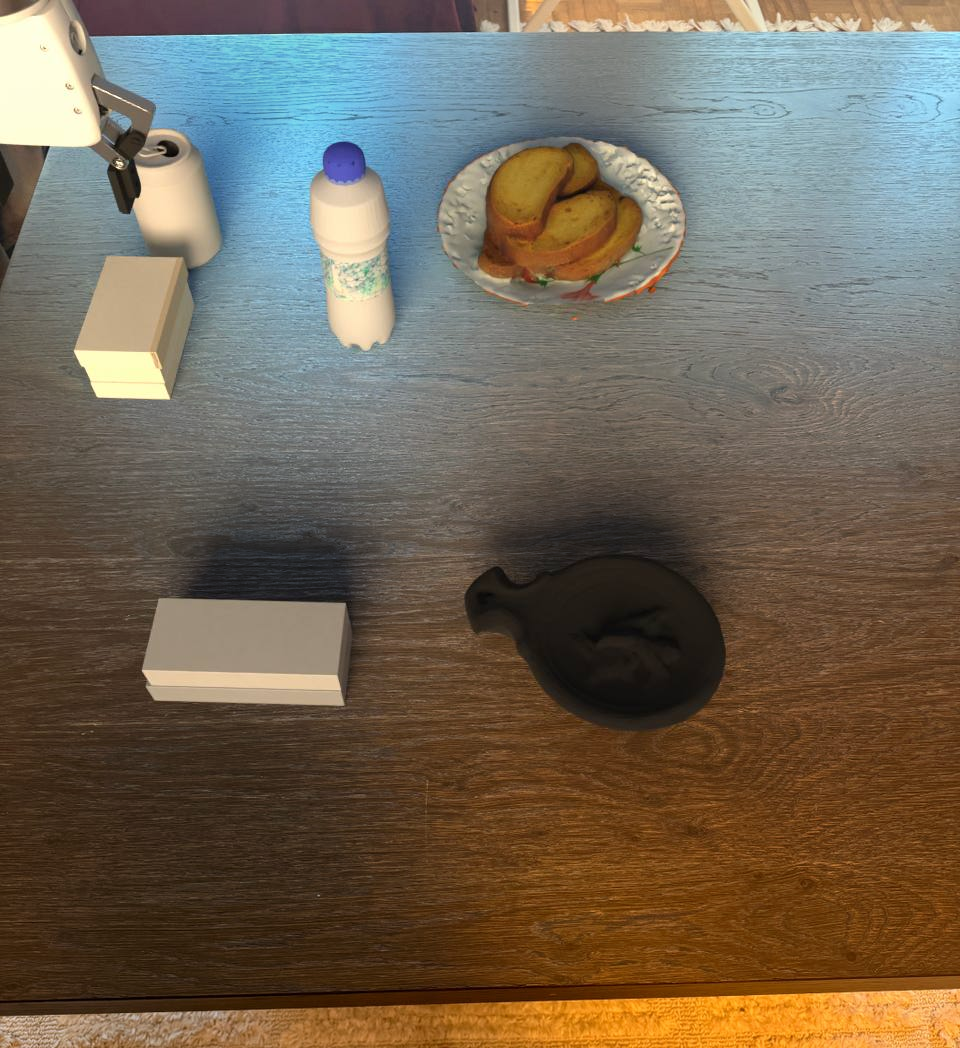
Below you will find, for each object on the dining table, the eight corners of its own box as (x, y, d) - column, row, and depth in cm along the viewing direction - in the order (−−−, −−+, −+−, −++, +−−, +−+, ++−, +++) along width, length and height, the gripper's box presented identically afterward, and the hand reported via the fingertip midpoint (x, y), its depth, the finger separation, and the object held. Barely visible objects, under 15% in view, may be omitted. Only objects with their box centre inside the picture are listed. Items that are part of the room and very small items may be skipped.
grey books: (154, 700, 71) (135, 671, 67) (170, 628, 74) (153, 596, 70) (344, 706, 71) (337, 677, 67) (352, 633, 74) (346, 601, 70)
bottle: (359, 298, 94) (336, 112, 78) (413, 327, 92) (402, 142, 76) (314, 338, 91) (280, 154, 75) (369, 369, 89) (347, 186, 73)
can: (237, 257, 97) (211, 153, 87) (168, 285, 95) (133, 181, 85) (205, 216, 101) (176, 112, 91) (137, 242, 98) (101, 138, 88)
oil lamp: (500, 536, 79) (502, 501, 75) (733, 611, 76) (749, 579, 71) (431, 692, 71) (429, 663, 67) (688, 785, 68) (703, 760, 64)
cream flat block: (113, 272, 90) (106, 255, 89) (188, 274, 90) (183, 257, 88) (81, 367, 84) (73, 350, 82) (162, 369, 84) (156, 352, 82)
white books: (170, 399, 87) (158, 369, 84) (97, 397, 87) (82, 367, 84) (195, 306, 94) (185, 274, 90) (127, 304, 94) (114, 272, 90)
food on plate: (712, 302, 95) (728, 250, 89) (464, 337, 92) (464, 285, 86) (638, 146, 109) (647, 92, 103) (420, 171, 106) (417, 117, 100)
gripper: (133, -49, 63) (187, 175, 77) (-135, -63, 63) (-30, 165, 77) (106, 12, 59) (169, 236, 73) (-180, -2, 59) (-61, 226, 73)
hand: (67, 199), depth 75 cm, fingers open, 9 cm apart
